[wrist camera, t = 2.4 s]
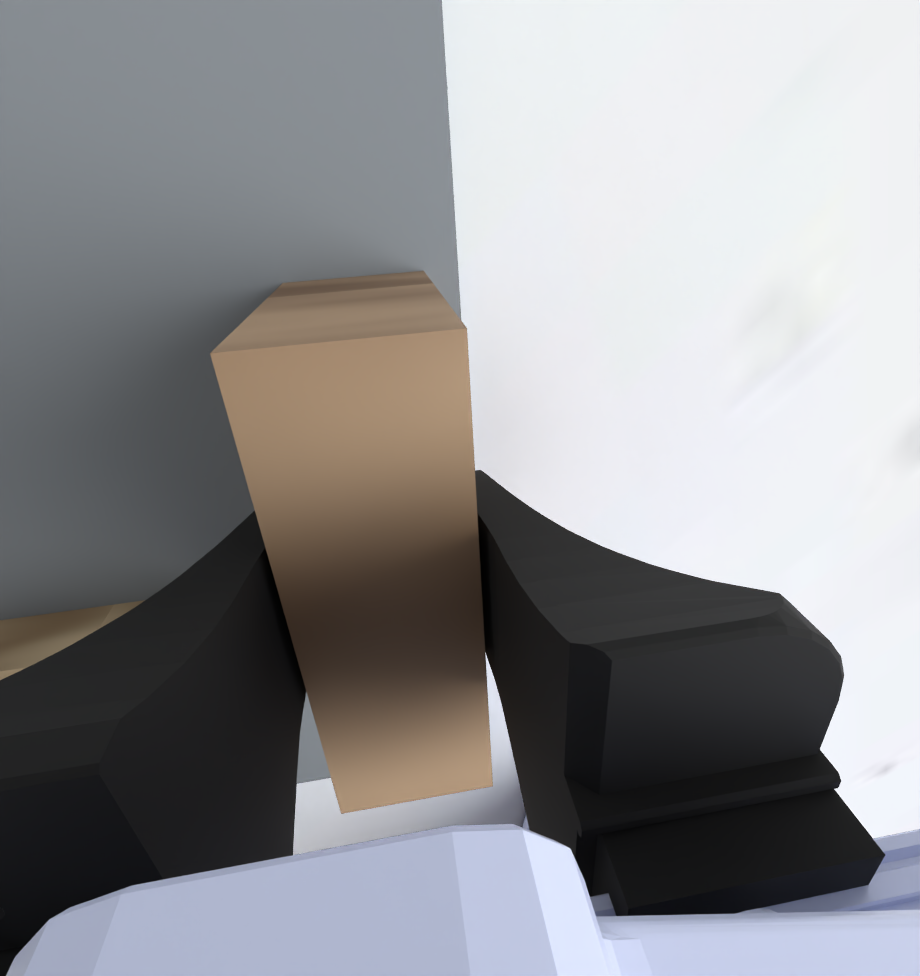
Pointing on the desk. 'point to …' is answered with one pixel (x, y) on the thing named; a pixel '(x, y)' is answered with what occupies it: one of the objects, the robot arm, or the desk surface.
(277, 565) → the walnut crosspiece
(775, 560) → the desk surface
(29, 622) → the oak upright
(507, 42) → the desk surface
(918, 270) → the desk surface
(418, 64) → the slate mat
